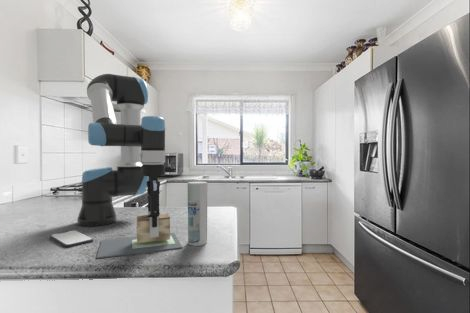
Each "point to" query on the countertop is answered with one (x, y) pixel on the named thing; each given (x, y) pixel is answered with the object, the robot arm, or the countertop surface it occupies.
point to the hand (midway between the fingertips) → (153, 233)
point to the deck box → (144, 228)
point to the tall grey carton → (197, 213)
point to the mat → (135, 246)
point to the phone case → (71, 238)
